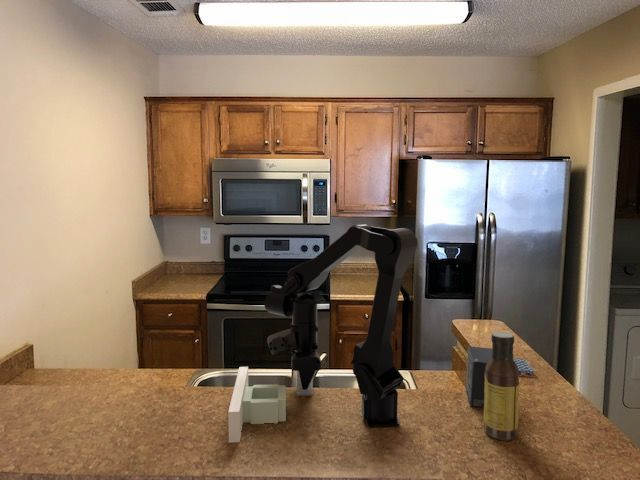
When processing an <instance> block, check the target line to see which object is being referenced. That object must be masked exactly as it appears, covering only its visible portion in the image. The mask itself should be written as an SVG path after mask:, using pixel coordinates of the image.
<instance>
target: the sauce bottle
mask: <svg viewBox="0 0 640 480" xmlns="http://www.w3.org/2000/svg"><path fill="white" fill-rule="evenodd" d="M491 342H492V344H491V346H492V347H491V348H492V358H491V359H490V360H489V362H488V363H487V364H486V369H485V386H484V408H483V423H484V424H483V429H484V431H485V433H486V434H487V435H488V436H489V437H491V438H493V439H497V440H500V441H511V440H514V439H515V438H516V437H517V434H518V428H519V407H520V406H519V405H520V400H519V399H520V376H519V369H518V367H517V365H516V363H515V362H514V360H513V357H514V344H515V334H513V333H511V332H508V331H503V330H502V331H494V332H491Z"/></svg>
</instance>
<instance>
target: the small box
mask: <svg viewBox="0 0 640 480" xmlns="http://www.w3.org/2000/svg"><path fill="white" fill-rule="evenodd" d="M491 358H492V347H490V348H489V347H481V346H470V345H469V346H468V345H467V363H466V379H465V392H466V395H467V400H468V404H469V407H470V408H479V409H484V386H485V369H486V364H487V363H488V362H489V360H490V359H491Z"/></svg>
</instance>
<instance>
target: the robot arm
mask: <svg viewBox="0 0 640 480" xmlns="http://www.w3.org/2000/svg"><path fill="white" fill-rule="evenodd" d="M361 248H363V249H364V250H366V251H370V252H373V253H374V261H375V263H376V267H377V272H378V275H377V278H376V279H377V280H376V284H375V285H376V286H375V290H374V291H375V292H374V296H373V302H372V308H371V313H370V318H369V324H368V328H367V329H368V330H367V334H366V339H365V340H364V341H362V342H360V343H358V344H355V345H354V348H353V357H352V359H351V361H350V364H351V365H352V372H353V373H352V374H353V375H354V376H355V379H356V382H357V385H358V386H357V387H358V390H359V393H360V395H361V416H362V418H363V420H364V421H365V423H366V426H367V427H370V428H371V427H372V428H374V427H398V426H400V421H399V419H398V404H399V403H398V399H399V397H398V394H399V392H398V390H397V389H398V388H401V387H402V384H403V383H404V379H405V377H404V376H403V375H402V373H401V372H400V371H399V370H398V368H397V366H395V364H394V357H395V356H394V355H395V354H394V350H393V347H392V344H391V340H392V339H391V337H392V334H393V328H394V327H393V326H394V324H395V323H394V322H395V319H396V312H397V308H398V302H399V298H400V292H401V287H402V282H403V277H404V275H405V273H406V271H407V270H408V269H409V266H410V265H411V264H412V261H413V259H414V256H415V253H416V251H417V248H418V237H416V235H415V233H414V232H413V231H412V229H411V230H410V229H409V228H407V227H406V228H405V227H400V228H393V229H390V228H384V227H376V226H373V225H369V224H365V223H364V224H354V225H351V226H350V227H349V228H348V229H347V231H346V232H344V233H343V234H342V235H340V236H339V237H338V238H337V239H336V240H335V241H334V242H332V243H331V244H329V246H327V247H326V248H325V249H324V250H322V251H320V253H319V254H317V256H315V257H314V258H312V259H309V260H306V261H304V262H302V263H300V264H298V265H296V266H294V267H293V268H290V270H289V271H288V272H287V278H286V280H285V281H284V283H283V284H282V285H279V284H274V285H271V286H270V290H269V291H268V293H267V294H266V297H265V300H264V301H263V305H264V309H265V310H266V312H268V313H269V314H274V315H277V316H283V317H288V318H289V317H291V320H292V321H291V323H290V328H288V329H285V330H281V331H279V332H278V331H277V332H276V333H273V334H271V335H268V337H267V339H266V343H267V344H268V345H267V346H268V349H269V351H270V352H271V355H272V356H274V355H277V354H278V353H279V352H282V351H285V350H288V349H290V351H291V371H293V372H297V371H299V375H300V380H301V384H302V389H303V390H307V389H308V387H309V384H310V382H311V380H312V378H313V379H314V375H315V373H316V371H320V370H322V360H321V355H320V354H319V353H318V352H317V350H318V347H319V346H318V345H319V344H318V332H319V327H318V305H319V304H322V303H325V302H326V299H325V297H324V296H322V295H321V294H320V293H319V291H314V292H312V293H307V292H308V291H312V290H317V289H318V288H319V287H320V286H321V285H322V284H323V283H324V282H325V281H326V280H327V278H328V276H329V273H331V271H332V270H333V269H335V268H336V267H337V266H339V265H340V264H341V263H342V262H344V261H345V260H347V259H348V258H349V257H351V256H352V255H353V254H354V253H355V252H357V251H358V250H359V249H361Z"/></svg>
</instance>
